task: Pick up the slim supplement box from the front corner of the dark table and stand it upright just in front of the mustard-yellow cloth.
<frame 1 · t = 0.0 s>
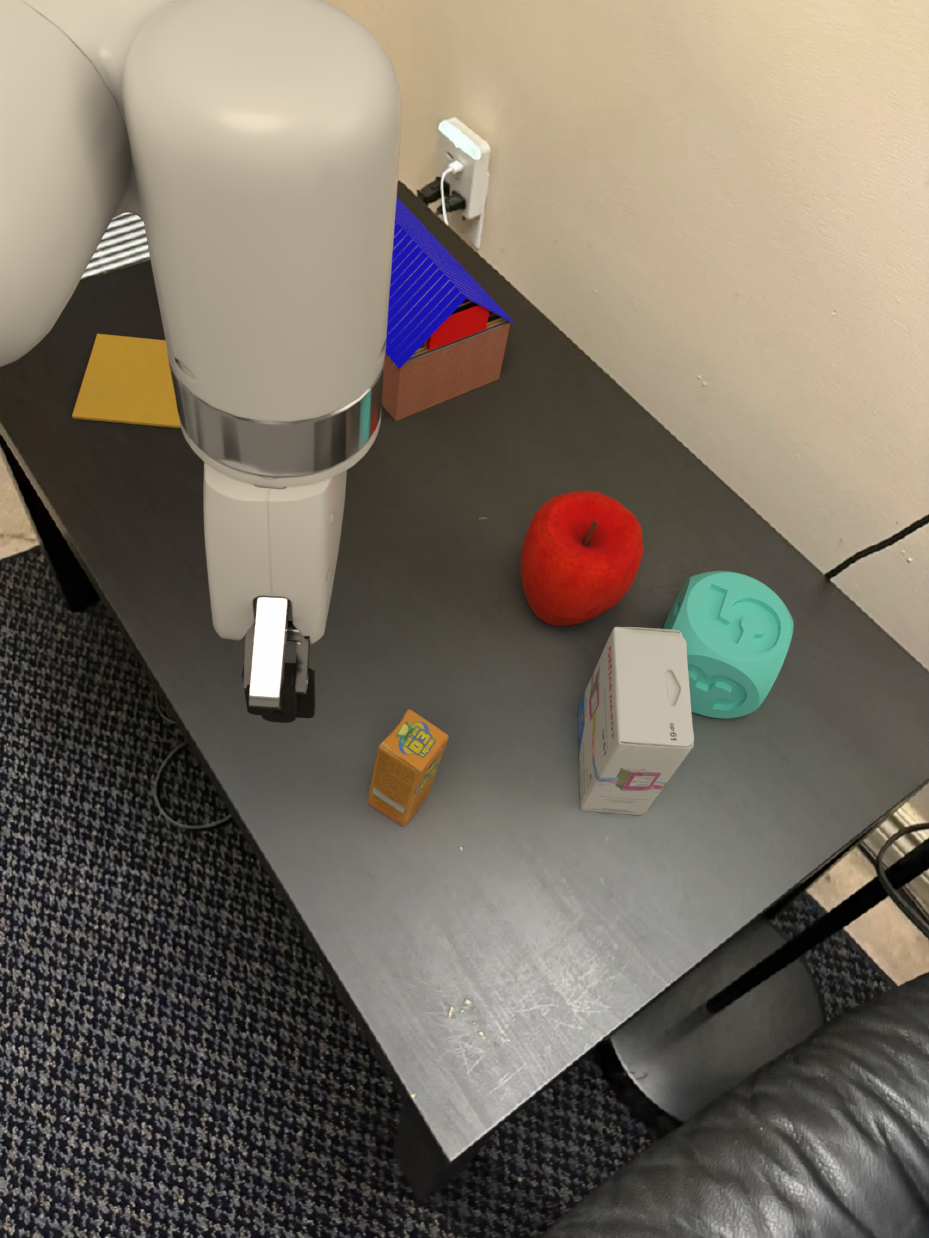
hand: (292, 626, 50), 20 cm above the table, tool pointing down, fingers open, 9 cm apart
house: (391, 334, 92), on the table
decorative dice: (701, 671, 76), on the table
ink box: (607, 760, 71), on the table
apple: (560, 607, 77), on the table
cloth: (168, 384, 85), on the table
supplement box: (400, 800, 67), on the table
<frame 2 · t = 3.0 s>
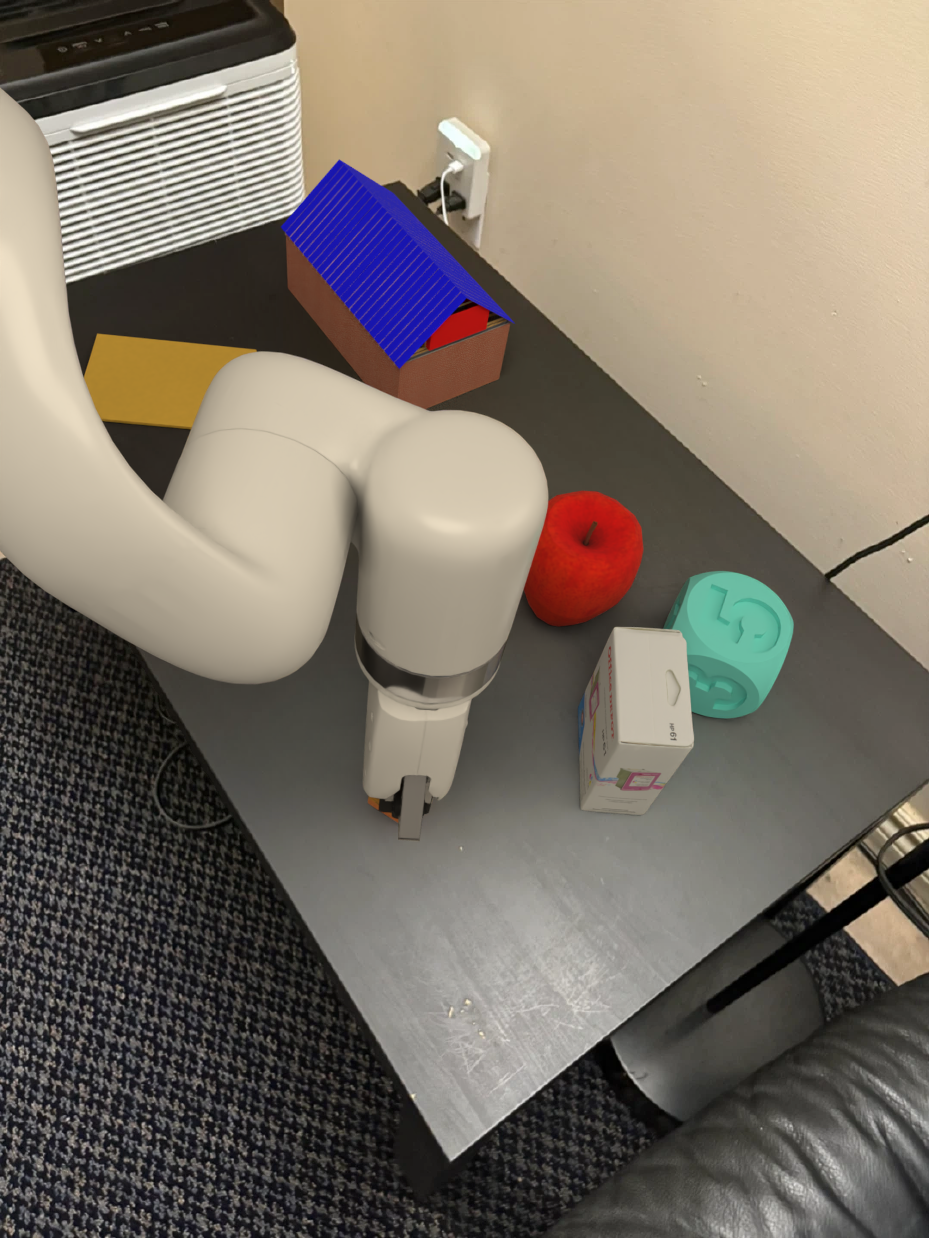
hand: (405, 772, 63), 5 cm above the table, tool pointing down, fingers closed on supplement box, 4 cm apart
supplement box: (400, 800, 67), on the table, touching gripper
everything else where it was.
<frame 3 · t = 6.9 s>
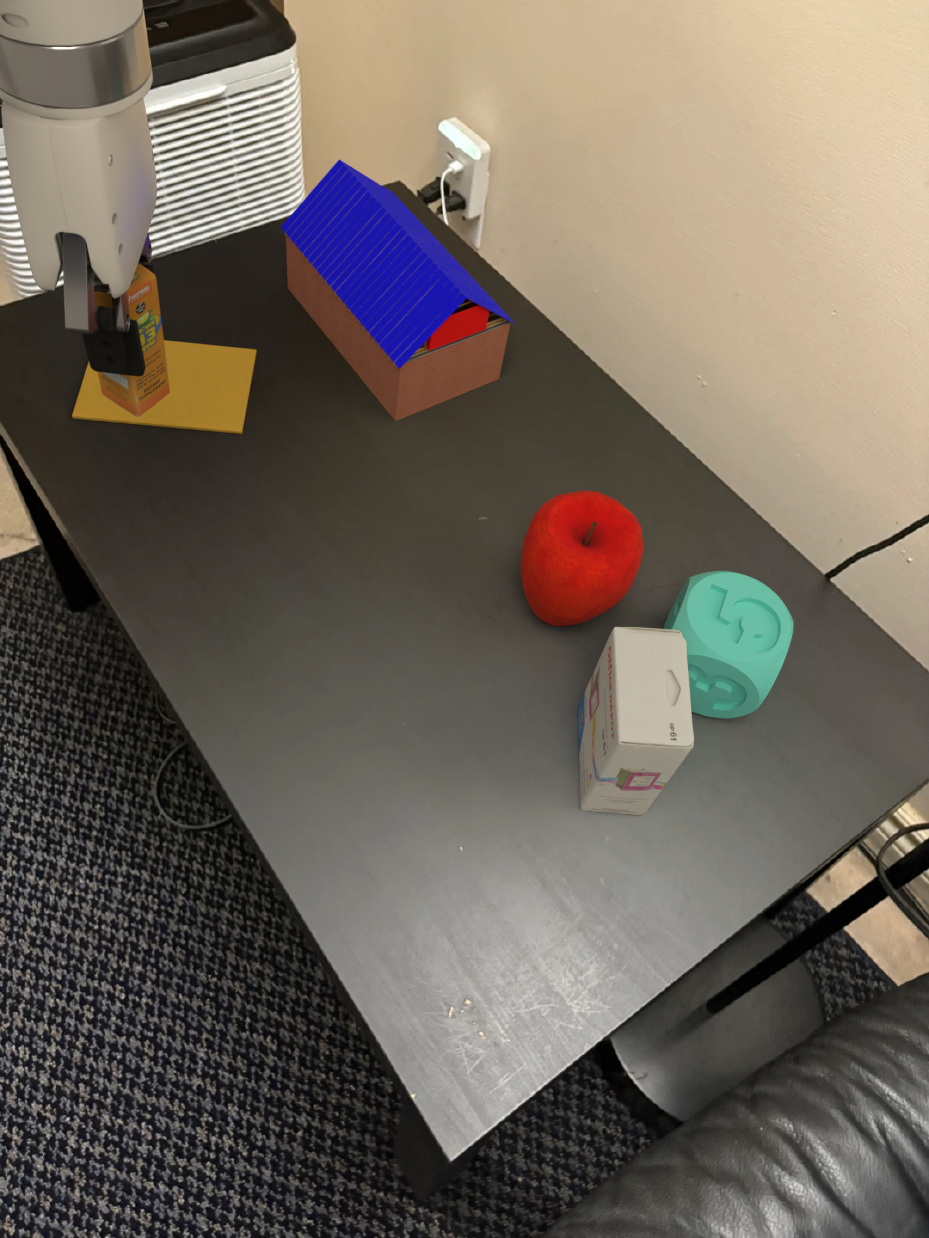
hand: (127, 341, 61), 19 cm above the table, tool pointing down, fingers closed on supplement box, 4 cm apart
supplement box: (139, 397, 65), point 14 cm above the table, touching gripper
everything else where it was.
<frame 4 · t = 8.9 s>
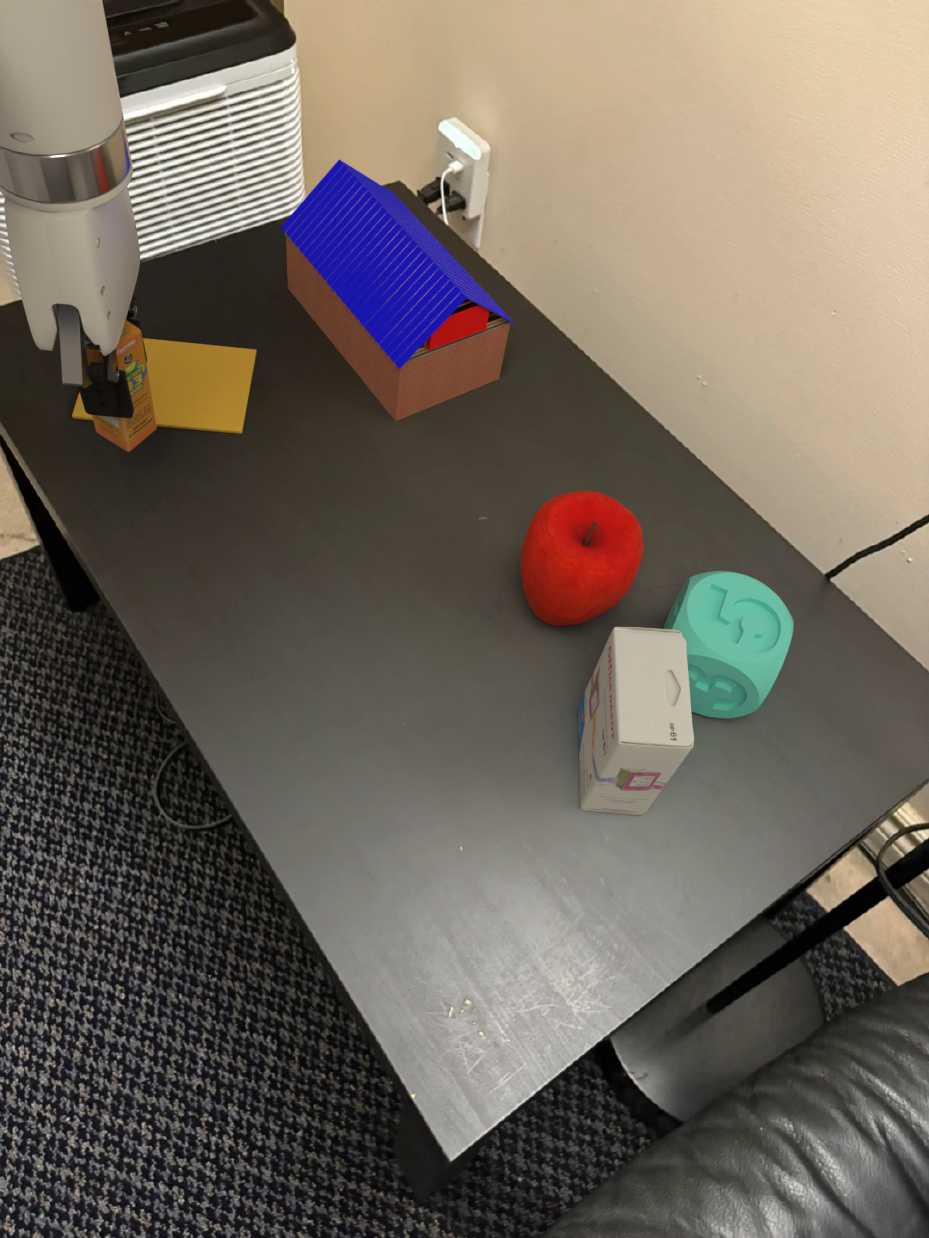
hand: (117, 386, 68), 12 cm above the table, tool pointing down, fingers closed on supplement box, 4 cm apart
supplement box: (129, 433, 73), point 7 cm above the table, touching gripper
everything else where it was.
when the fingers open (5 cm above the table, at t = 10.8 s): supplement box stays where it is, on the table.
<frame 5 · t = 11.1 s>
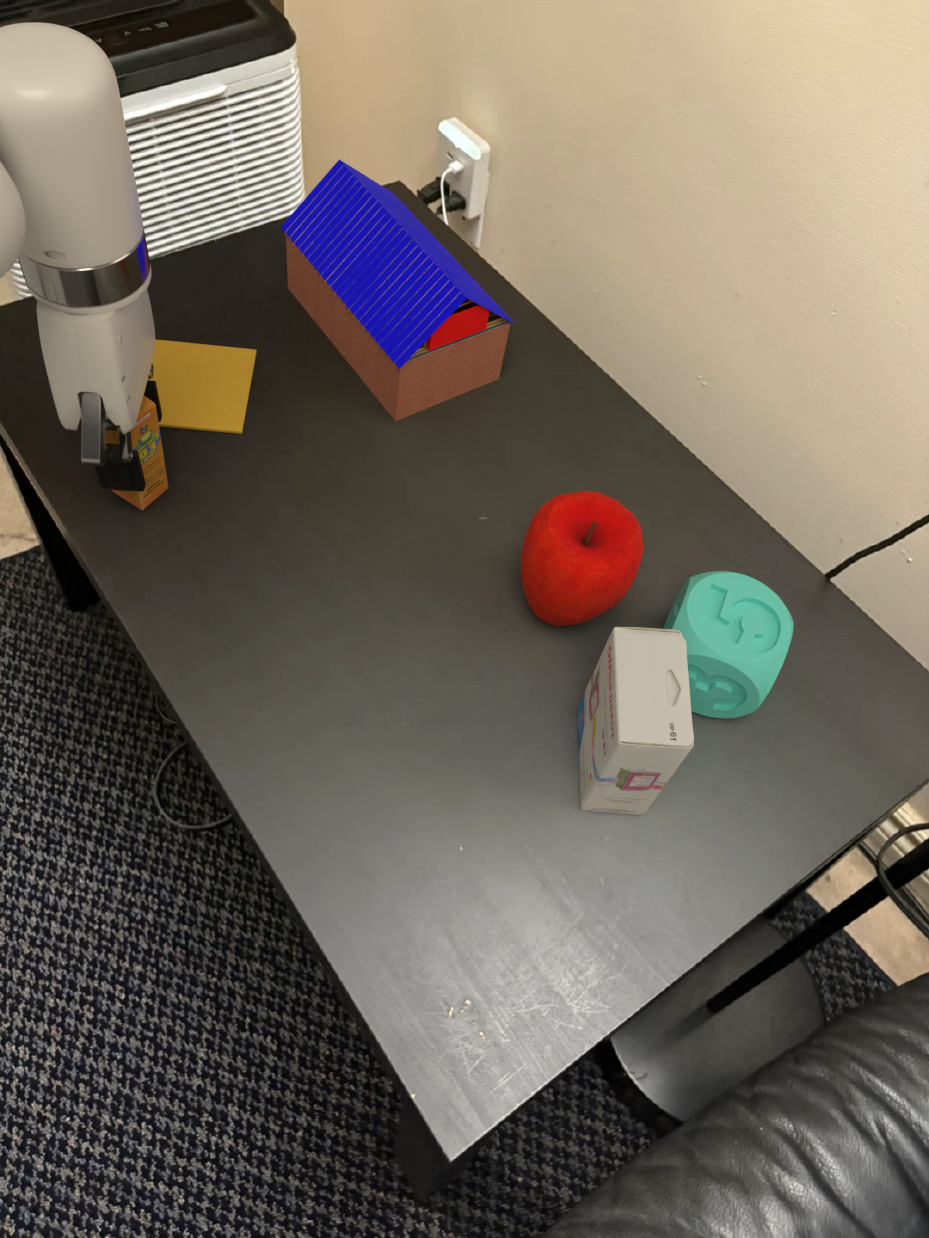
hand: (132, 450, 74), 5 cm above the table, tool pointing down, fingers open, 6 cm apart
supplement box: (143, 492, 78), on the table
everything else where it was.
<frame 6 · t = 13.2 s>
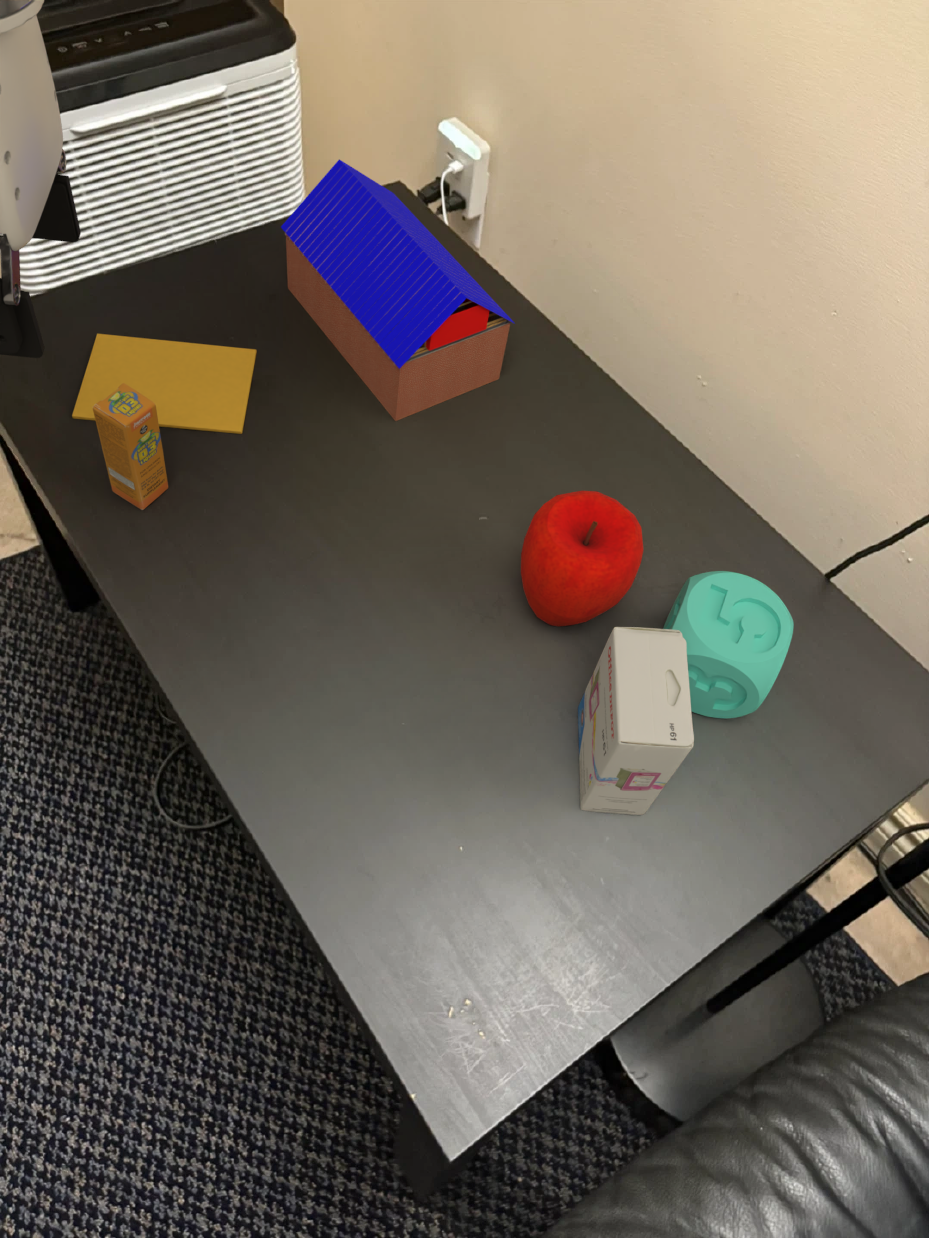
hand: (34, 292, 55), 24 cm above the table, tool pointing down, fingers open, 9 cm apart
nothing on the table moved.
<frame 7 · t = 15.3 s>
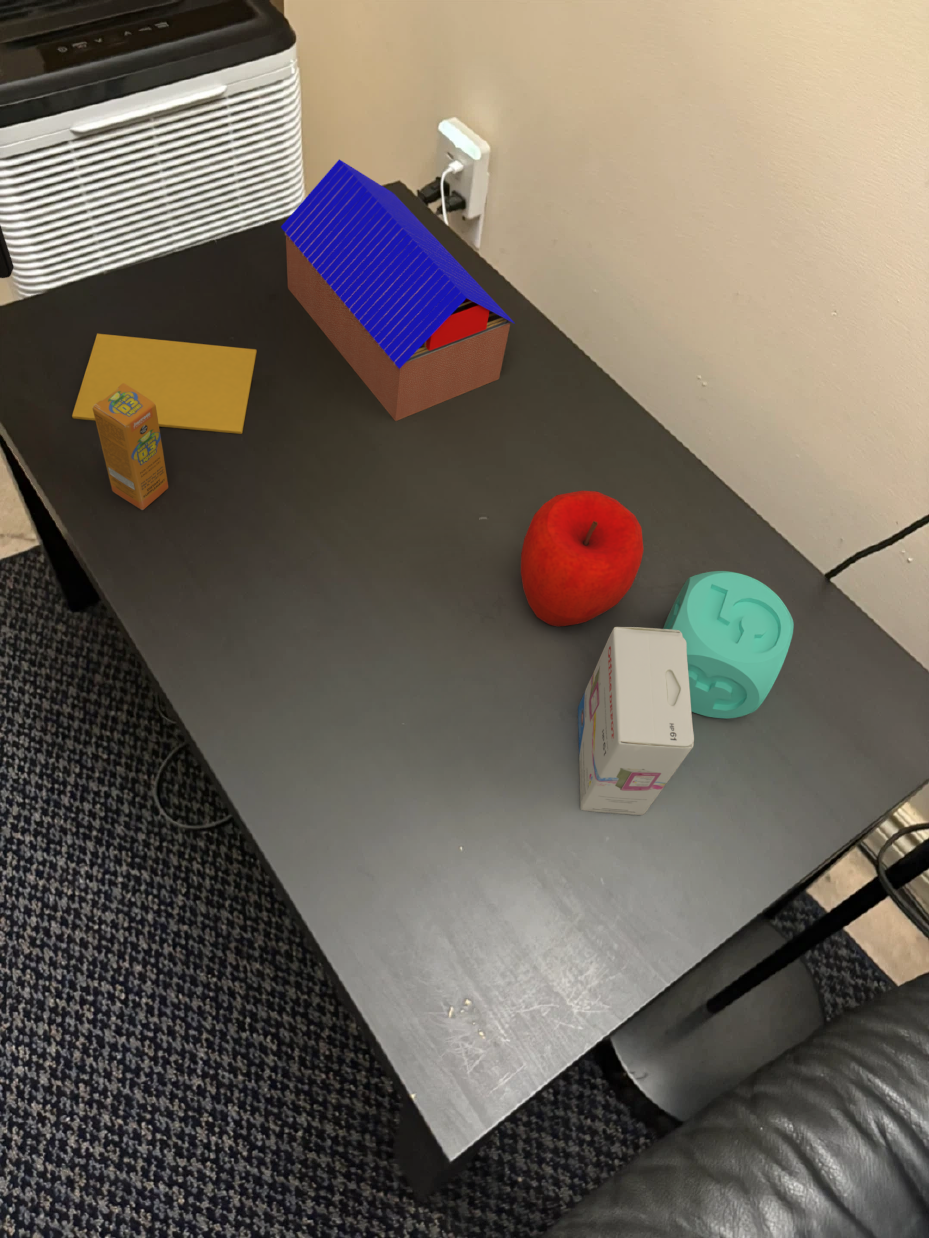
nothing on the table moved.
at the end: supplement box inside the target area on the table beside the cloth (0.0 cm from its centre), on the table; supplement box tilted 0° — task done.
